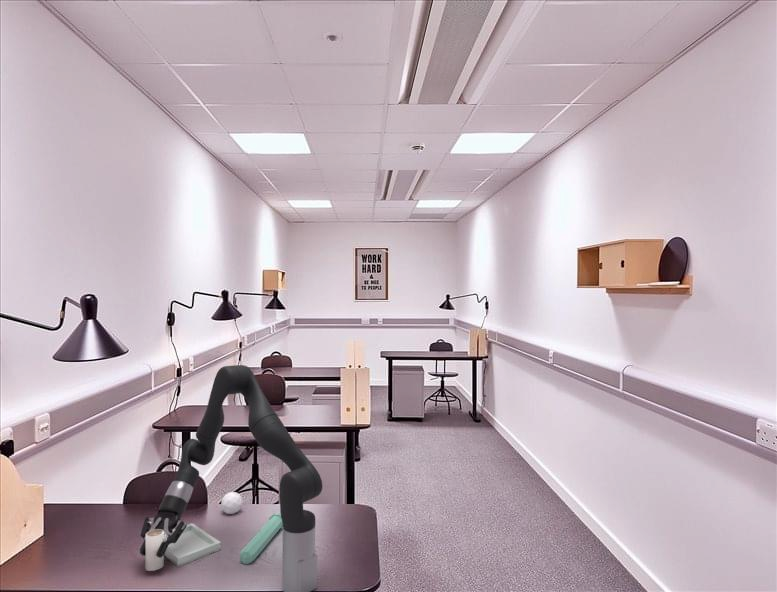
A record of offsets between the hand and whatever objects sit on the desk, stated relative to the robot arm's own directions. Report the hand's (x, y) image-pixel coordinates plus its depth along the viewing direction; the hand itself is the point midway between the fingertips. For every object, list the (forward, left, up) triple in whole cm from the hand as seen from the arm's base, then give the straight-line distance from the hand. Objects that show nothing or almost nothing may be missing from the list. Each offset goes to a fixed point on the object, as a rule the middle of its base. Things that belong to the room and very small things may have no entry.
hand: (150, 555), depth 146 cm
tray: (+8, -14, -6) cm, 17 cm away
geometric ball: (+21, -38, -6) cm, 44 cm away
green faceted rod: (-9, -32, -6) cm, 34 cm away
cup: (+1, -2, -4) cm, 5 cm away
